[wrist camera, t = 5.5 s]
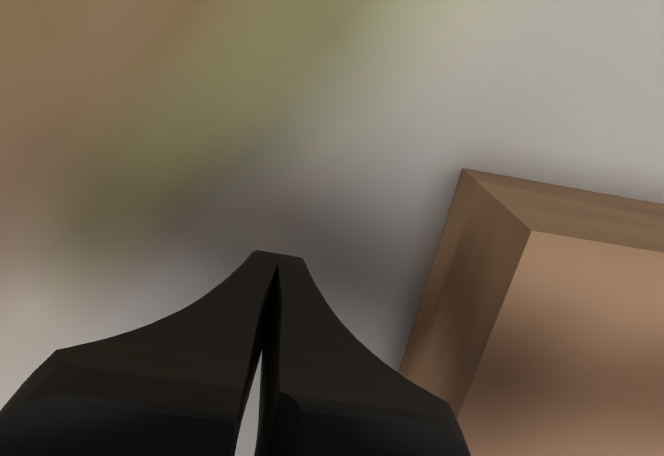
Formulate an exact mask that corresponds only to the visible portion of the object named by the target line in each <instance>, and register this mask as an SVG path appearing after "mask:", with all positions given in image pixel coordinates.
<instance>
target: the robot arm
mask: <svg viewBox="0 0 664 456" xmlns="http://www.w3.org/2000/svg"><path fill="white" fill-rule="evenodd" d="M261 351H262V363H261V382H260V402H259V422H258V433H257V441H256V448H255V455H254V456H471V454H470V451H469V449H468V446H467V443H466V440H465V438H464V435H463V433H462V430H461V428H460V425H459V423H458V421H457V419H456V417H455V415H454V413H453V411H452V409H451V407H450V405H449V403H448V402H446V401H444V400H442V399H441V398H439V397H437V396H435V395H434V394H432V393H430V392H428V391H427V390H425V389H423V388H421V387H420V386H418V385H416V384H414V383H413V382H411V381H410V380H408V379H407V378H405V377H404V376H402V375H401V374H399V373H398V372H396V371H395V370H394V369H392V368H391V367H389V366H388V365H387V364H385V363H384V362H383V361H381V360H380V359H379V358H378V357H377V356H375V355H374V354H373V353H372V352H371V351H370V350H368V349H367V348H366V347H365V346H364V345H363V344H362V343H361V342H360V341H358V340H357V339H356V338H355V337H354V336H353V334H352V333H351V332H350V331H349V330H348V329H347V328H346V327H345V326H344V325H343V324H342V323H341V321H340V320H339V319H338V318H337V317H336V315H335V314H334V313H333V311H332V310H331V308H330V307H329V305H328V304H327V303H326V301H325V299H324V298H323V296H322V295H321V293H320V291H319V290H318V288H317V286H316V284H315V283H314V281H313V279H312V277H311V275H310V273H309V271H308V269H307V266H306V264H305V262H304V260H303V259H302V258H300V257H294V256H288V255H282V254H276V253H270V252H264V251H258V250H256V251H254V252H253V253H251V255H250V256H249V257H248V258H247V259H246V261H245V262H244V263H243V264H242V265H241V266H240V267H239V268H238V269H237V270H236V271H234V272H233V273H232V274H231V275H230V276H229V277H228V278H227V279H226V280H224V281H223V282H222V283H221V284H219V285H218V286H217V287H215V288H214V289H213V290H211V291H210V292H209V293H207V294H206V295H205V296H203V297H202V298H200V299H199V300H197V301H196V302H194V303H193V304H191V305H189V306H187V307H186V308H184V309H182V310H180V311H178V312H176V313H174V314H172V315H169V316H167V317H165V318H163V319H161V320H158V321H156V322H154V323H152V324H149V325H147V326H144V327H141V328H138V329H136V330H133V331H130V332H127V333H123V334H120V335H117V336H114V337H110V338H107V339H103V340H99V341H95V342H90V343H86V344H82V345H77V346H73V347H69V348H64V349H59V350H56V351H55V352H54V353H53V354H52V355H51V356H50V357H49V358H48V359H47V360H46V361H45V362H44V363H42V364H41V365H40V366H39V367H38V368H37V369H36V370H35V371H34V372H33V373H32V374H31V375H30V377H29V378H28V379H27V380H26V381H25V382H24V383H23V384H22V385H21V387H20V388H19V389H18V390H17V391H16V393H15V394H14V395H13V396H12V397H11V399H10V400H9V401H8V402H7V403H6V405H5V406H4V407H3V408H2V410H1V411H0V456H234V455H235V450H236V444H237V439H238V434H239V430H240V426H241V422H242V418H243V414H244V411H245V407H246V404H247V400H248V397H249V393H250V390H251V386H252V383H253V379H254V376H255V372H256V369H257V365H258V362H259V358H260V355H261Z"/></svg>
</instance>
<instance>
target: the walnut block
mask: <svg viewBox="0 0 664 456" xmlns="http://www.w3.org/2000/svg"><path fill="white" fill-rule="evenodd" d="M399 374H401V375H402V376H404V377H405V378H407V379H408V380H410V381H411V382H413V383H414V384H416V385H418V386H420V387H421V388H423V389H425V390H427V391H428V392H430V393H432V394H434V395H435V396H437V397H439V398H441V399H442V400H444V401H446V402H448V403H449V405H450V407H451V409H452V411H453V413H454V415H455V417H456V419H457V421H458V423H459V425H460V428H461V430H462V433H463V435H464V438H465V440H466V443H467V446H468V449H469V451H470V454H471V456H664V205H662V204H657V203H651V202H646V201H640V200H635V199H629V198H624V197H618V196H613V195H607V194H602V193H596V192H591V191H585V190H580V189H574V188H568V187H563V186H557V185H552V184H546V183H541V182H535V181H530V180H524V179H519V178H513V177H508V176H502V175H497V174H491V173H486V172H480V171H475V170H469V169H464V168H463V169H462V172H461V175H460V178H459V182H458V185H457V188H456V191H455V194H454V197H453V201H452V204H451V207H450V210H449V213H448V217H447V220H446V223H445V226H444V229H443V233H442V236H441V239H440V242H439V245H438V248H437V252H436V255H435V258H434V261H433V264H432V268H431V271H430V274H429V277H428V280H427V284H426V287H425V290H424V293H423V296H422V299H421V303H420V306H419V309H418V312H417V315H416V319H415V322H414V325H413V328H412V331H411V335H410V338H409V341H408V344H407V347H406V350H405V354H404V357H403V360H402V363H401V366H400V370H399Z"/></svg>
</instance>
